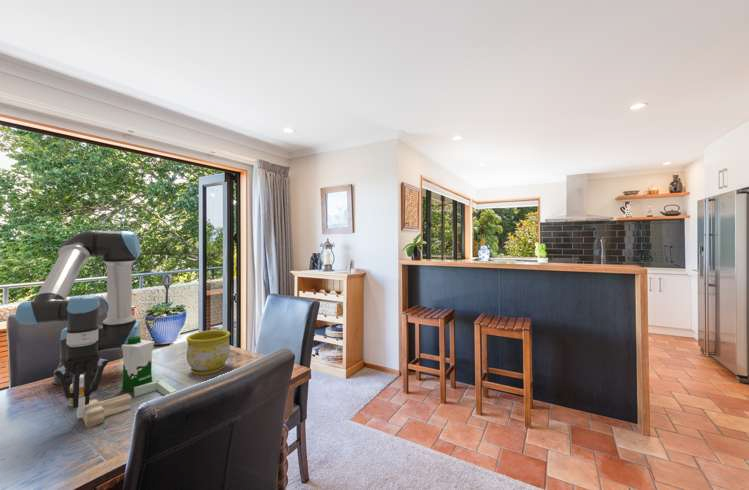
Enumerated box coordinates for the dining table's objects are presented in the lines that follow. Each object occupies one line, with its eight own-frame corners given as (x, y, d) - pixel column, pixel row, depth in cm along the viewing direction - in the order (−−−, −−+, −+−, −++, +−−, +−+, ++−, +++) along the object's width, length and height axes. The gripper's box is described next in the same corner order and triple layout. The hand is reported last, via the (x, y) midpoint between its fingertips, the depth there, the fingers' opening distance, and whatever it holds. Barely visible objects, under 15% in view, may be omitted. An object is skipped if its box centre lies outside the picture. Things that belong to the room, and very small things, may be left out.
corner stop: (133, 395, 117) (134, 387, 117) (161, 386, 124) (161, 379, 124) (147, 408, 107) (148, 399, 107) (176, 398, 114) (176, 390, 114)
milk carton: (138, 381, 129) (139, 334, 129) (156, 383, 127) (157, 335, 127) (117, 390, 120) (118, 340, 120) (136, 393, 118) (137, 342, 119)
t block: (80, 414, 103) (80, 403, 103) (124, 401, 112) (124, 390, 112) (87, 427, 95) (87, 415, 95) (134, 411, 105) (134, 400, 105)
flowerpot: (237, 364, 149) (238, 330, 149) (212, 379, 131) (212, 341, 132) (205, 361, 152) (206, 328, 152) (176, 376, 134) (176, 339, 135)
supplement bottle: (66, 408, 107) (67, 380, 107) (72, 401, 112) (73, 374, 112) (86, 404, 109) (87, 377, 110) (92, 398, 114) (92, 372, 114)
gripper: (55, 351, 91) (53, 429, 91) (111, 341, 102) (109, 411, 101) (52, 346, 96) (50, 420, 96) (106, 337, 106) (104, 404, 106)
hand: (80, 416), depth 98 cm, fingers closed
